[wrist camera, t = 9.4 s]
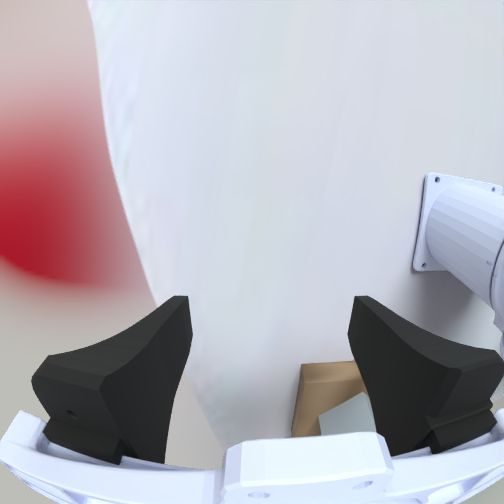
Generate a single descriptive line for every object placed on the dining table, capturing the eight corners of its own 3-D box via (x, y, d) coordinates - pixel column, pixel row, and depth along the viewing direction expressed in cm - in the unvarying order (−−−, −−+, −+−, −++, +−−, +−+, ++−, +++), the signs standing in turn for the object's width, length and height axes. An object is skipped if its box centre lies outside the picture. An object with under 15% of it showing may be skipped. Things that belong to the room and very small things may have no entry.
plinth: (407, 354, 25) (416, 370, 22) (378, 419, 29) (384, 434, 26) (301, 364, 25) (305, 383, 23) (291, 429, 29) (292, 446, 27)
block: (363, 391, 23) (377, 432, 19) (381, 411, 25) (395, 447, 20) (318, 415, 24) (325, 456, 20) (341, 433, 26) (349, 469, 21)
